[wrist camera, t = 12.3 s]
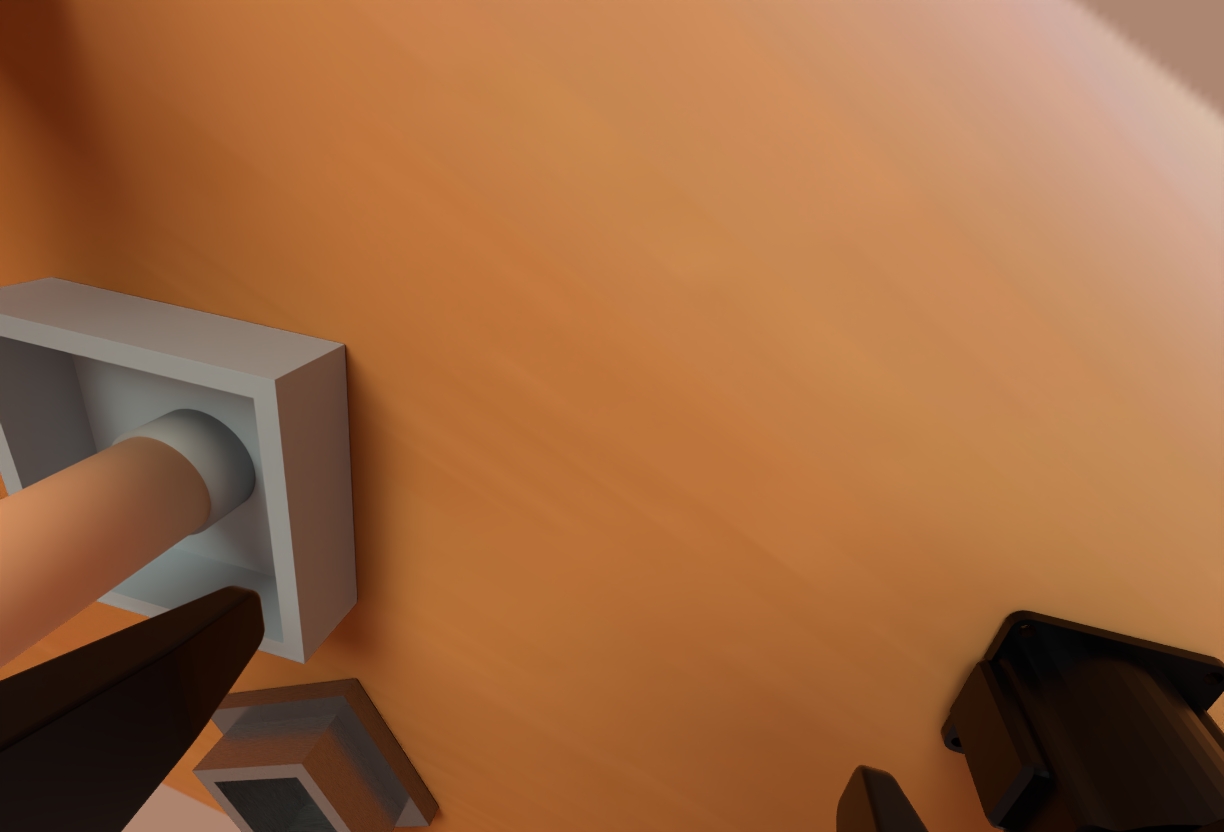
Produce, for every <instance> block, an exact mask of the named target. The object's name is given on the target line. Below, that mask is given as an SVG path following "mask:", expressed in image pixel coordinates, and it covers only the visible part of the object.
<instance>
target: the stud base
mask: <svg viewBox="0 0 1224 832" xmlns="http://www.w3.org/2000/svg"><path fill="white" fill-rule="evenodd" d="M211 719H212V720H213V722H214V723H215V724H216V726H217V727H218V728H219V729H220V731H221V732H222V733H223V737H222V738H221V739H220V740H219V741H218V742H217V743H216V744H215V746H214V747H213V748H212V749H211V750H210V751H209V752H208V753H207V755H206V756H205V757H204V758H203V759H202V760H201V761H200V763H199V764H198V765H197V766H196V767H195V768H194V769H193V770H192V771H193V773H194V774H195V775H196V776H197V778H198V779H199V780H200V781H201V782H202V784H203V785H204V786H205V787H206V789H207V790H208V791H209V792H210V794H211V795H212V796H213V797H214V798H215V800H216V801H217V802H218V803H219V805H220V806H221V807H222V808H223V810H224V811H225V812H226V813H227V814H228V816H229V817H230V818H231V819H232V820H233V822H234V823H235V824H236V825H237V827H238V828H239V829H240V830H241V832H392V831H393V829H394V827H416V826H430V824H431V822H432V820H433V818H434V816H435V814H436V811H437V809H438V805H437V804H436V802H435V800H434V799H433V797H432V796H431V794H430V793H429V791H428V790H427V788H426V786H425V785H424V783H423V782H422V780H421V779H420V777H419V775H418V774H417V772H416V771H415V769H414V768H413V766H412V765H411V763H410V761H409V760H408V758H407V757H406V755H405V754H404V752H403V751H402V749H401V747H400V746H399V744H398V743H397V741H396V740H395V738H394V736H393V735H392V733H391V732H390V730H389V729H388V727H387V726H386V724H385V722H384V721H383V719H382V718H381V716H380V715H379V713H378V712H377V710H376V708H375V707H374V705H373V704H372V702H371V701H370V699H369V698H368V696H367V694H366V693H365V691H364V690H363V688H362V687H361V685H360V683H359V682H358V680H357V679H347V680H339V681H331V682H322V683H314V684H306V685H298V686H289V687H281V688H273V689H265V690H256V691H248V692H240V693H231V694H227V695H226V697H225V698H224V700H223V701H222V702H221V704H220V705H219V707H218V708H217V710H216V711H215V713H214V714H213V716H212V717H211Z"/></svg>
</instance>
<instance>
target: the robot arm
mask: <svg viewBox="0 0 1224 832" xmlns="http://www.w3.org/2000/svg"><path fill="white" fill-rule="evenodd" d="M1025 625H1030V626H1029V627H1027V628H1021V627H1022V626H1025ZM264 633H265V625H264V618H263V611H262V604H261V598H260V595H259V594H258V593H257V592H256V591H254V590H251V589H248V588H244V587H241V586H236V585H231V586H227V587H224V588H221V589H219V590H217V591H214V592H212V593H209V594H207V595H205V596H202V597H200V598H197V599H195V600H193V601H190V602H188V603H185V604H183V605H181V606H178V607H176V608H173V609H171V610H169V611H166V612H164V613H161V614H159V615H157V616H154V617H152V618H150V619H147V620H145V621H142V622H140V623H138V624H135V625H133V626H130V627H128V628H126V629H123V630H121V631H118V632H116V633H114V634H111V635H109V636H106V637H104V638H102V639H99V640H97V641H94V642H92V643H90V644H87V645H85V646H82V647H80V648H78V649H75V650H73V651H70V652H68V653H66V654H63V655H61V656H58V657H56V658H54V659H51V660H49V661H46V662H44V663H42V664H39V665H37V666H34V667H32V668H30V669H27V670H25V671H22V672H20V673H18V674H15V675H13V676H10V677H8V678H6V679H3V680H1V681H0V832H121V831H122V830H123V829H124V828H125V826H126V825H127V824H128V823H129V822H130V820H131V819H132V818H133V817H134V815H135V814H136V813H137V812H138V810H139V809H140V808H141V807H142V805H143V804H144V803H145V802H146V800H147V799H148V798H149V797H150V796H151V794H152V793H153V792H154V791H155V790H156V788H157V787H158V786H159V785H160V784H161V782H162V781H163V780H164V779H165V777H166V776H167V775H168V774H169V772H170V771H171V770H172V769H173V768H174V766H175V765H176V764H177V763H178V761H179V760H180V759H181V758H182V756H183V755H184V754H185V753H186V751H187V750H188V749H189V748H190V746H191V745H192V744H193V742H194V741H195V740H196V739H197V737H198V736H199V734H200V733H201V732H202V730H203V729H204V727H205V726H206V725H207V723H208V722H209V720H210V719H211V717H212V716H213V714H214V713H215V711H216V710H217V708H218V707H219V705H220V704H221V702H222V701H223V700H224V698H225V697H226V695H227V694H228V692H229V691H230V689H231V688H232V686H233V685H234V683H235V682H236V680H237V679H238V677H239V676H240V674H241V673H242V671H243V670H244V668H245V667H246V666H247V664H248V663H249V661H250V660H251V658H252V657H253V655H254V654H255V652H256V651H257V649H258V648H259V646H260V644H261V642H262V640H263V637H264ZM1209 673H1210V674H1209ZM1223 692H1224V663H1223V662H1222V661H1221V660H1219V659H1217V658H1215V657H1211V656H1207V655H1203V654H1199V653H1195V652H1191V651H1187V650H1183V649H1179V648H1175V647H1171V646H1167V645H1163V644H1159V643H1155V642H1151V641H1147V640H1143V639H1139V638H1135V637H1131V636H1127V635H1123V634H1119V633H1115V632H1111V631H1107V630H1103V629H1099V628H1095V627H1091V626H1087V625H1083V624H1079V623H1075V622H1071V621H1067V620H1063V619H1059V618H1055V617H1051V616H1047V615H1043V614H1039V613H1035V612H1031V611H1024V610H1022V611H1016V612H1014V613H1012V614H1010V615H1009V616H1008V617H1007V618H1006V620H1005V622H1004V624H1003V625H1002V627H1001V629H1000V630H999V632H998V634H997V635H996V637H995V639H994V641H993V642H992V644H991V646H990V647H989V649H988V651H987V652H986V654H985V656H984V658H983V659H982V660H981V661H980V662H978V663H977V664H976V666H975V668H974V669H973V671H972V673H971V675H970V676H969V678H968V680H967V681H966V683H965V685H964V687H963V688H962V690H961V692H960V693H959V695H958V697H957V699H956V700H955V702H954V704H953V705H952V707H951V709H950V713H951V714H950V715H949V717H948V719H947V720H946V722H945V724H944V726H943V727H942V730H941V735H942V738H943V741H944V744H945V746H946V747H947V748H948V749H950V750H952V751H955V752H959V753H962V754H965V757H966V760H967V763H968V766H969V769H970V772H971V775H972V778H973V781H974V784H975V787H976V790H977V793H978V796H979V799H980V802H981V805H982V807H983V810H984V813H985V816H986V818H987V819H988V821H989V822H990V824H991V826H993V827H995V828H998V829H1001V830H1003V831H1004V832H1224V733H1223V732H1222V730H1221V729H1220V728H1219V727H1218V725H1217V724H1216V723H1215V722H1214V720H1213V719H1212V718H1211V716H1210V715H1209V714H1208V713H1207V710H1208V709H1209V708H1210V707H1211V706H1212V705H1213V703H1214V702H1215V701H1216V700H1217V699H1218V698H1219V696H1220V695H1221V694H1222V693H1223ZM836 832H928V830H927V829H926V827H925V826H924V824H923V823H922V821H921V819H920V818H919V816H918V815H917V813H916V811H915V810H914V808H913V807H912V805H911V804H910V802H909V800H908V799H907V797H906V796H905V794H904V792H903V791H902V789H901V788H900V786H899V785H898V783H897V781H896V780H895V778H894V777H893V776H892V775H891V774H889V773H888V772H886V771H883V770H879V769H876V768H872V767H869V766H865V765H860V766H858V767H857V768H856V769H855V771H854V772H853V774H852V776H851V778H850V780H849V782H848V784H847V786H846V788H845V790H844V792H843V794H842V796H841V798H840V800H839V803H838V808H837V816H836Z"/></svg>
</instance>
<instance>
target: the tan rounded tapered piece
mask: <svg viewBox="0 0 1224 832" xmlns="http://www.w3.org/2000/svg"><path fill="white" fill-rule="evenodd" d="M255 481H256V478H255V469H254V465H253V462H252V459H251V457H250V454H249V453H248V451H247V449H246V447H245V446H244V444H243V443H242V441H241V440H240V439H239V438H238V436H237V435H236V434H235V433H234V432H233V431H232V430H231V429H230V428H228V427H227V426H226V425H225V424H224V423H222V422H221V421H219V420H218V419H216V418H214V417H213V416H211V415H209V414H207V413H204V412H201V411H198V410H193V409H178V410H174V411H171V412H169V413H167V414H165V415H163V416H161V417H158V418H156V419H154V420H152V421H150V422H148V423H146V424H144V425H142V426H139V427H137V428H135V429H133V430H131V431H129V432H127V433H125V434H122V435H121V436H119V437H118V438H117V439H116V440H115V441H114V442H113V444H112V445H111V447H109V448H107V449H105V450H103V451H101V452H99V453H97V454H95V455H93V456H90V457H88V458H86V459H84V460H82V461H80V462H78V463H76V464H74V465H72V466H70V467H68V468H66V469H64V470H61V471H59V472H57V473H55V474H53V475H51V476H49V477H47V478H45V479H43V480H41V481H39V482H37V483H35V484H33V485H30V486H28V487H26V488H24V489H22V490H20V491H18V492H16V493H14V494H12V495H10V496H8V497H6V498H4V499H1V500H0V668H1V667H3V666H4V665H6V664H7V663H8V662H10V661H11V660H13V659H14V658H15V657H17V656H18V655H20V654H21V653H23V652H24V651H25V650H27V649H28V648H30V647H31V646H32V645H34V644H35V643H37V642H38V641H40V640H41V639H42V638H44V637H45V636H47V635H48V634H49V633H51V632H52V631H54V630H55V629H57V628H58V627H59V626H61V625H62V624H64V623H65V622H66V621H68V620H69V619H71V618H72V617H74V616H75V615H76V614H78V613H79V612H81V611H82V610H83V609H85V608H86V607H88V606H89V605H91V604H92V603H93V602H95V601H96V600H98V599H99V598H100V597H102V596H103V595H105V594H106V593H108V592H109V591H110V590H112V589H113V588H115V587H116V586H117V585H119V584H120V583H122V582H123V581H125V580H126V579H127V578H129V577H130V576H132V575H133V574H134V573H136V572H137V571H139V570H140V569H141V568H143V567H144V566H146V565H147V564H149V563H150V562H151V561H153V560H154V559H156V558H157V557H158V556H160V555H161V554H163V553H164V552H166V551H167V550H168V549H170V548H171V547H173V546H174V545H175V544H177V543H178V542H180V541H181V540H183V539H184V538H185V537H187V536H188V535H196V534H199V533H201V532H203V531H205V530H206V529H208V528H209V527H210V526H212V525H213V524H215V523H216V522H217V521H219V520H220V519H222V518H223V517H224V516H226V515H227V514H228V513H230V512H231V511H233V510H234V509H235V508H237V507H238V506H240V505H241V504H242V503H244V502H245V501H246V500H247V499H248V498H249V497H250V496H251V494H252V492H253V490H254V487H255Z"/></svg>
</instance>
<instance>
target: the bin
mask: <svg viewBox="0 0 1224 832" xmlns="http://www.w3.org/2000/svg"><path fill="white" fill-rule="evenodd" d="M178 409H193V410H198V411H201V412H204V413H207V414H209V415H211V416H213V417H214V418H216V419H218V420H219V421H221V422H222V423H224V424H225V425H226V426H227V427H228V428H230V429H231V430H232V431H233V432H234V433H235V434H236V435H237V436H238V438H239V439H240V440H241V441H242V443H243V444H244V446H245V447H246V449H247V451H248V453H249V454H250V457H251V459H252V462H253V465H254V469H255V478H256V481H255V487H254V490H253V492H252V494H251V496H250V497H249V498H248V499H247V500H246V501H245V502H244V503H242V504H241V505H240V506H238V507H237V508H235V509H234V510H233V511H231V512H230V513H228V514H227V515H226V516H224V517H223V518H222V519H220V520H219V521H217V522H216V523H215V524H213V525H212V526H210V527H209V528H208V529H206V530H205V531H203V532H201V533H199V534H196V535H188V536H187V537H185V538H184V539H183V540H181V541H180V542H178V543H177V544H175V545H174V546H173V547H171V548H170V549H168V550H167V551H166V552H164V553H163V554H161V555H160V556H158V557H157V558H156V559H154V560H153V561H151V562H150V563H149V564H147V565H146V566H144V567H143V568H141V569H140V570H139V571H137V572H136V573H134V574H133V575H132V576H130V577H129V578H127V579H126V580H125V581H123V582H122V583H120V584H119V585H117V586H116V587H115V588H113V589H112V590H110V591H109V592H108V593H106V594H105V595H103V596H102V597H100V598H99V599H98V600H96V601H98V602H102V603H105V604H108V605H112V606H115V607H118V608H122V609H125V610H128V611H131V612H135V613H138V614H141V615H145V616H148V617H151V618H152V617H154V616H157V615H159V614H161V613H164V612H166V611H169V610H171V609H173V608H176V607H178V606H181V605H183V604H185V603H188V602H190V601H193V600H195V599H197V598H200V597H202V596H205V595H207V594H209V593H212V592H214V591H217V590H219V589H221V588H224V587H227V586H231V585H236V586H241V587H244V588H248V589H251V590H254V591H256V592H257V593H258V594H259V595H260V598H261V604H262V611H263V618H264V625H265V633H264V637H263V640H262V642H261V644H260V646H259V648H258V649H257V650H260V651H263V652H267V653H270V654H273V655H277V656H280V657H283V658H287V659H290V660H293V661H296V662H300V663H303V664H305V663H306V662H307V661H308V659H309V658H310V657H311V656H312V655H313V653H314V652H315V651H316V650H317V649H318V648H319V646H320V645H321V644H322V643H323V642H324V641H325V639H326V638H327V637H328V636H329V635H330V634H331V632H332V631H333V630H334V629H335V628H336V626H337V625H338V624H339V623H340V622H341V621H342V619H343V618H344V617H345V616H346V615H347V614H348V612H349V611H350V610H351V609H352V608H353V607H354V605H355V604H356V603H357V586H356V566H355V545H354V524H353V504H352V483H351V462H350V442H349V421H348V400H347V380H346V359H345V344H342V343H337V342H333V341H329V340H324V339H320V338H316V337H311V336H307V335H302V334H298V333H294V332H289V331H285V330H281V329H276V328H272V327H268V326H263V325H259V324H254V323H250V322H246V321H241V320H237V319H233V318H228V317H224V316H220V315H215V314H211V313H206V312H202V311H198V310H193V309H189V308H185V307H180V306H176V305H172V304H167V303H163V302H158V301H154V300H150V299H145V298H141V297H137V296H132V295H128V294H124V293H119V292H115V291H110V290H106V289H102V288H97V287H93V286H89V285H84V284H80V283H76V282H71V281H67V280H62V279H58V278H54V277H49V278H44V279H39V280H34V281H29V282H24V283H19V284H14V285H9V286H4V287H0V472H1V475H2V478H3V481H4V484H5V487H6V489H7V492H8V495H9V496H10V495H12V494H14V493H16V492H18V491H20V490H22V489H24V488H26V487H28V486H30V485H33V484H35V483H37V482H39V481H41V480H43V479H45V478H47V477H49V476H51V475H53V474H55V473H57V472H59V471H61V470H64V469H66V468H68V467H70V466H72V465H74V464H76V463H78V462H80V461H82V460H84V459H86V458H88V457H90V456H93V455H95V454H97V453H99V452H101V451H103V450H105V449H107V448H109V447H111V445H112V444H113V442H114V441H115V440H116V439H117V438H118V437H119V436H121V435H122V434H125V433H127V432H129V431H131V430H133V429H135V428H137V427H139V426H142V425H144V424H146V423H148V422H150V421H152V420H154V419H156V418H158V417H161V416H163V415H165V414H167V413H169V412H171V411H174V410H178Z"/></svg>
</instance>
